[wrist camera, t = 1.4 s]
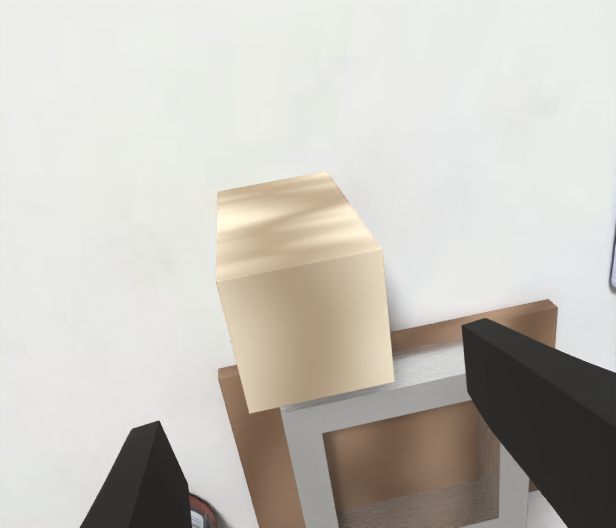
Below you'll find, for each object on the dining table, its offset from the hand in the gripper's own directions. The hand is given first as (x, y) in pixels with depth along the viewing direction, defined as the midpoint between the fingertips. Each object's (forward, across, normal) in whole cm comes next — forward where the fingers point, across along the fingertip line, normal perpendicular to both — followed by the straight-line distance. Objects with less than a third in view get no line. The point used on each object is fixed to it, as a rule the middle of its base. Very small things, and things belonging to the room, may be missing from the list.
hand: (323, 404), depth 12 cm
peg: (+11, -1, 0) cm, 11 cm away
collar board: (+10, -4, +12) cm, 17 cm away
